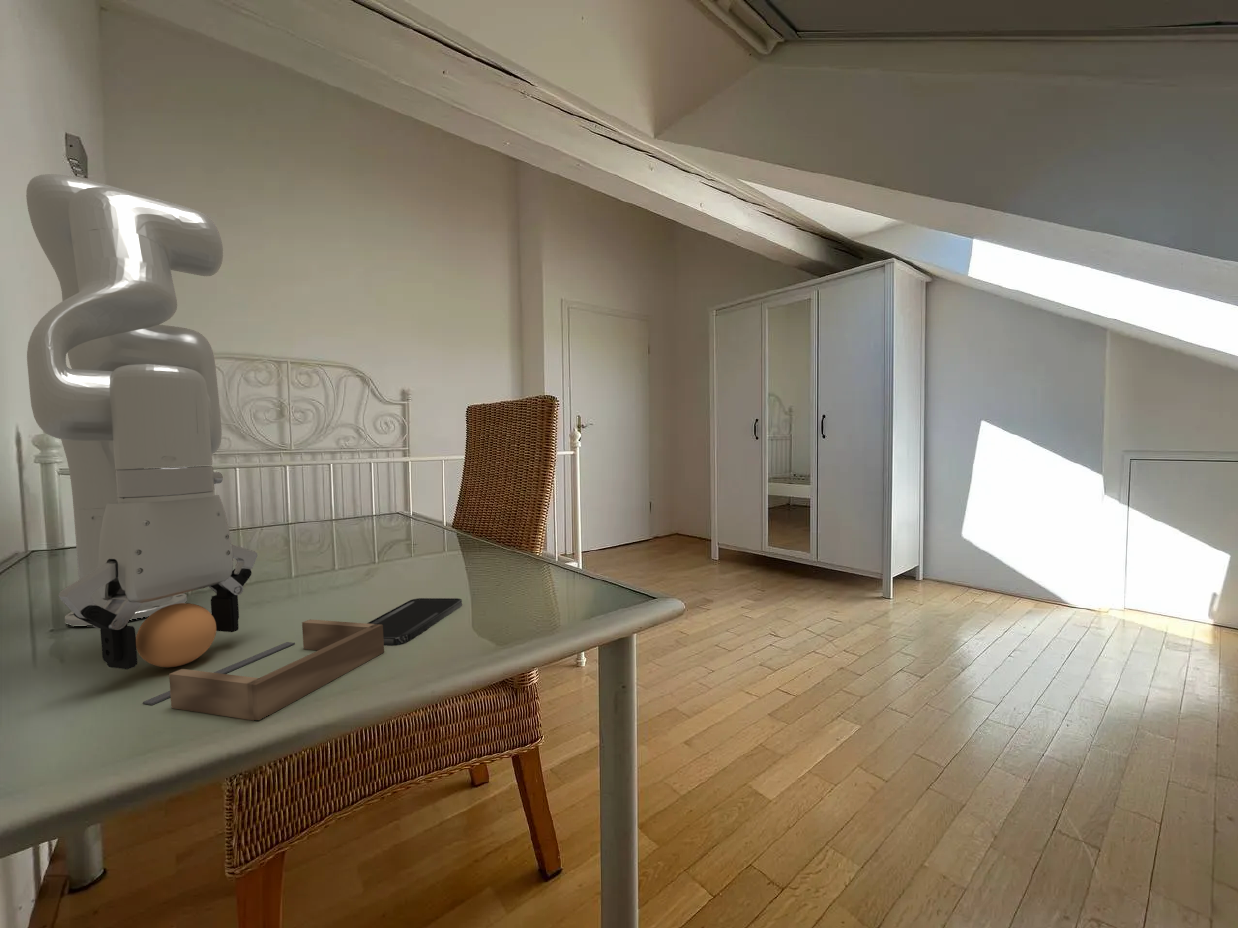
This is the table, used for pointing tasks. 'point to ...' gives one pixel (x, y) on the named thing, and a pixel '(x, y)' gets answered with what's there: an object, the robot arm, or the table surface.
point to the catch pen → (280, 673)
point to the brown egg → (175, 635)
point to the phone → (414, 618)
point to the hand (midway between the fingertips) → (178, 647)
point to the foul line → (227, 669)
